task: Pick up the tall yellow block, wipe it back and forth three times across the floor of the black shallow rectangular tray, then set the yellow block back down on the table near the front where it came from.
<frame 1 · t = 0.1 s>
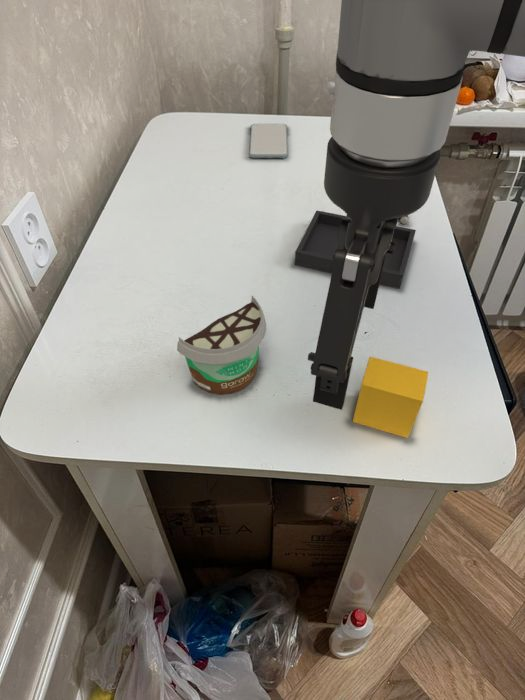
hand: (346, 349, 49), 17 cm above the table, tool pointing down, fingers open, 13 cm apart
cleaver: (386, 200, 96), on the table
rounded grey tile: (268, 143, 111), on the table
yellow block: (383, 415, 64), on the table
black shallow rectangular tray: (354, 253, 86), on the table
food container: (235, 380, 68), on the table
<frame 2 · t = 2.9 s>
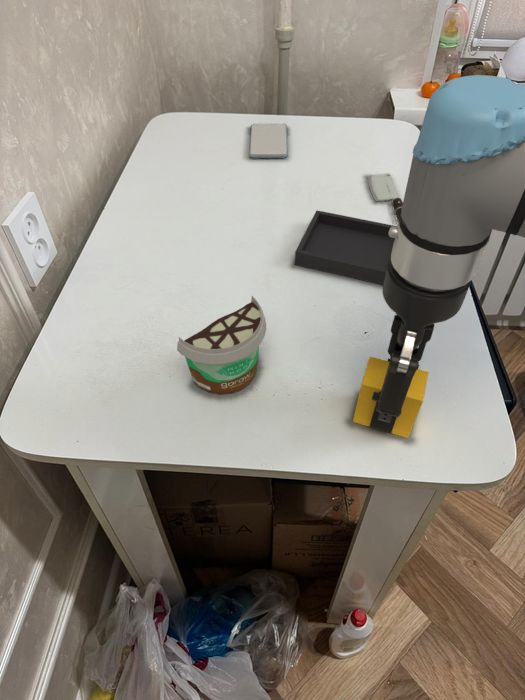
hand: (384, 410, 63), 1 cm above the table, tool pointing down, fingers closed on yellow block, 4 cm apart
yellow block: (383, 415, 64), on the table, touching gripper
everything else where it was.
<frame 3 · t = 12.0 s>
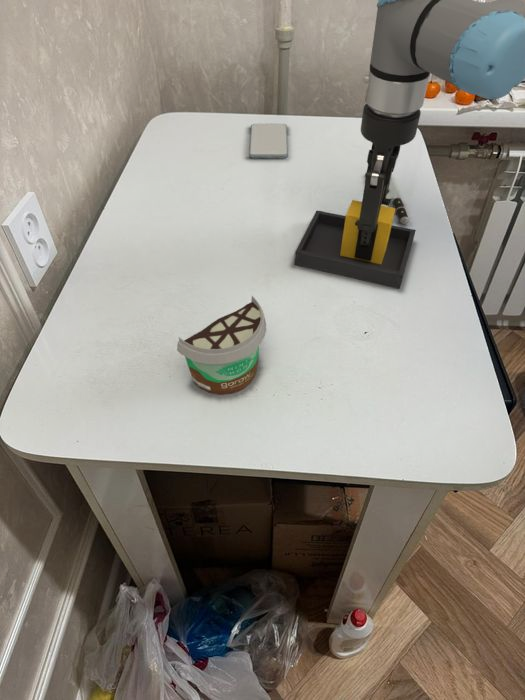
hand: (366, 248, 84), 2 cm above the table, tool pointing down, fingers closed on yellow block, 4 cm apart
yellow block: (363, 252, 85), point 1 cm above the table, touching gripper, black shallow rectangular tray
everything else where it was.
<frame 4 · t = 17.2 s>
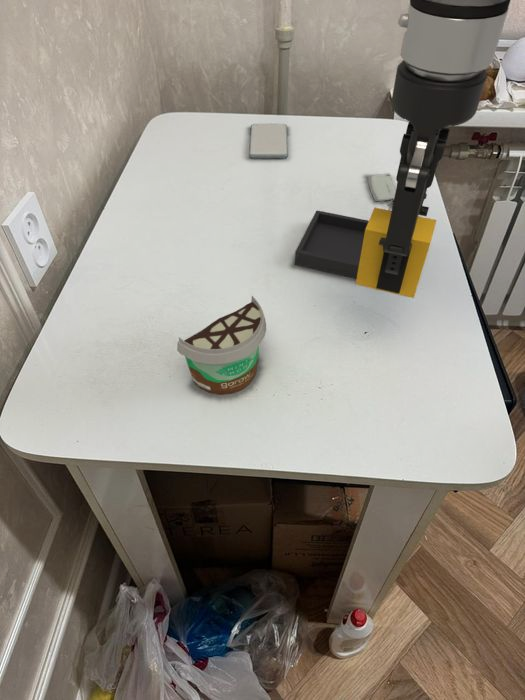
hand: (392, 274, 60), 14 cm above the table, tool pointing down, fingers closed on yellow block, 4 cm apart
yellow block: (387, 279, 61), point 14 cm above the table, touching gripper
everything else where it was.
when the fingers open (1 cm above the table, at t = 21.4 s): yellow block stays where it is, on the table.
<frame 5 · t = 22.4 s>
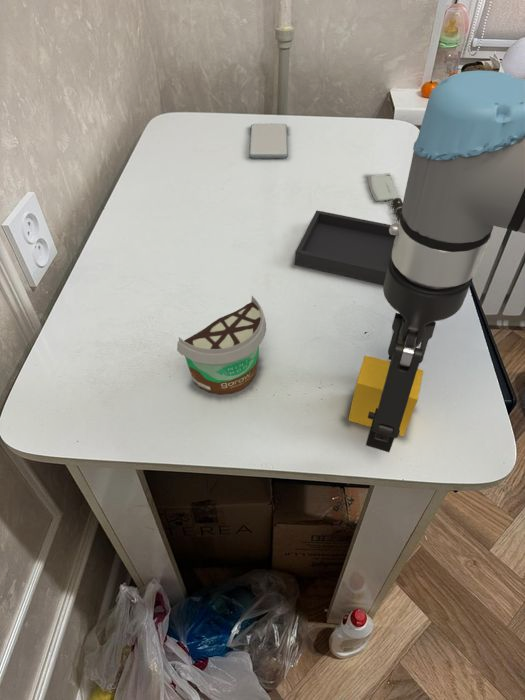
hand: (389, 400, 61), 4 cm above the table, tool pointing down, fingers open, 13 cm apart
yellow block: (378, 414, 64), on the table
everything else where it was.
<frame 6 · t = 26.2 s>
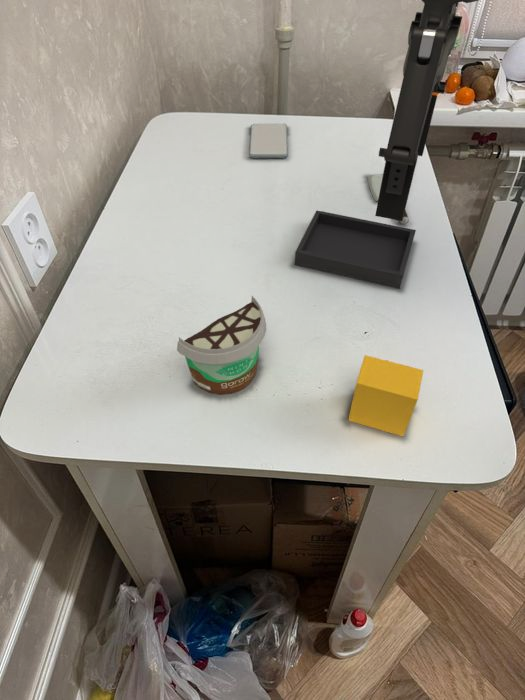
hand: (400, 182, 54), 25 cm above the table, tool pointing down, fingers open, 13 cm apart
nothing on the table moved.
at the end: the gripper is holding nothing; yellow block tilted 0° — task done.
